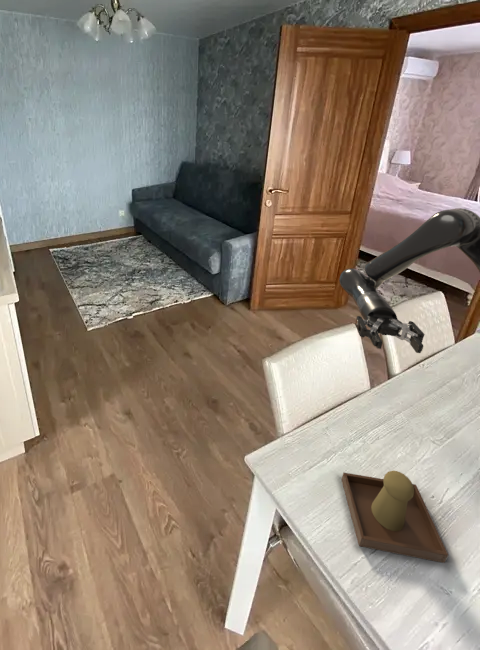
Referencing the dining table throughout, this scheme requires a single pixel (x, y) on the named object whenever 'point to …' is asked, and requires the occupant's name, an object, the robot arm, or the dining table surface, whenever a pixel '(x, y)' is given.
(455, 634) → the dining table surface
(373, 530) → the tray
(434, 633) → the dining table surface
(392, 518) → the cork
